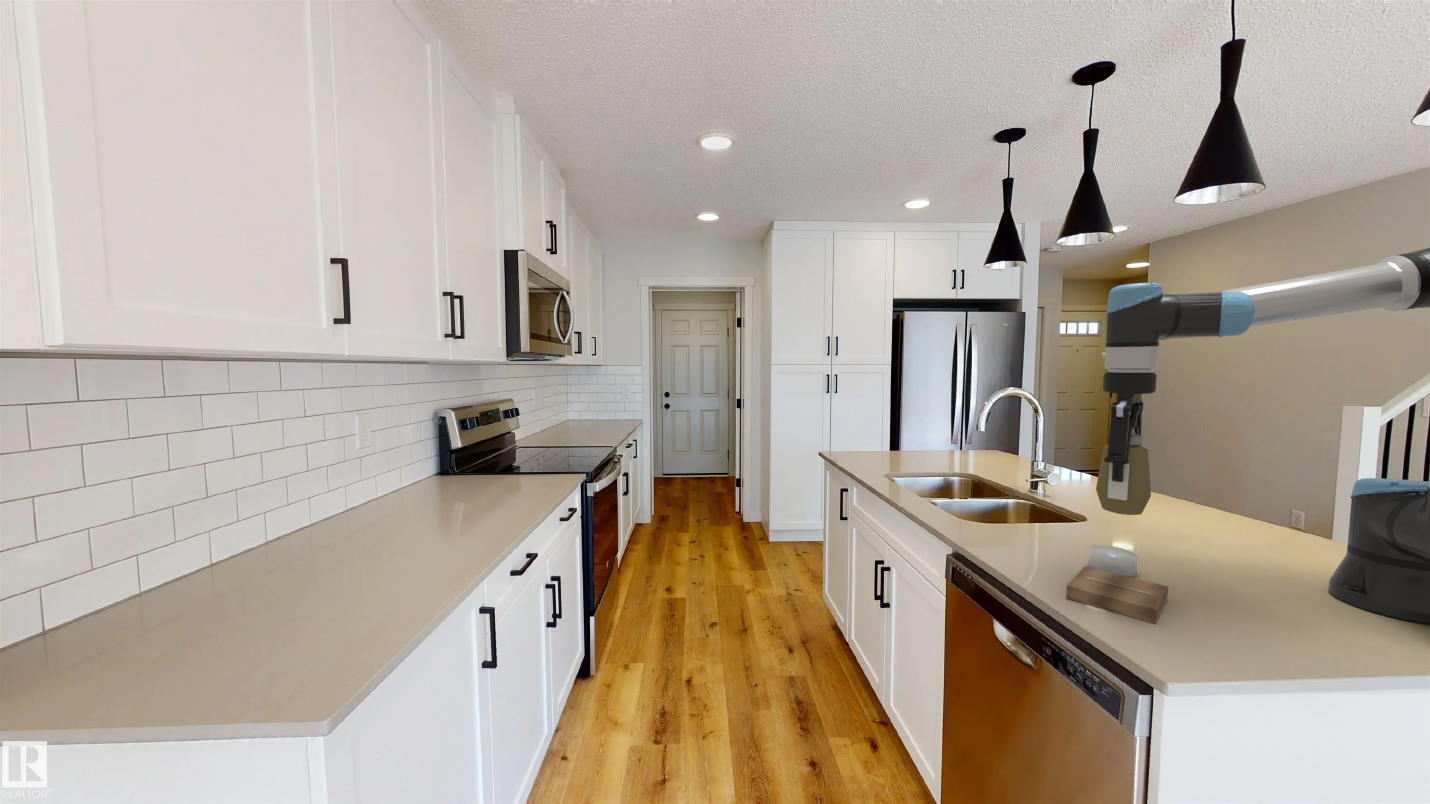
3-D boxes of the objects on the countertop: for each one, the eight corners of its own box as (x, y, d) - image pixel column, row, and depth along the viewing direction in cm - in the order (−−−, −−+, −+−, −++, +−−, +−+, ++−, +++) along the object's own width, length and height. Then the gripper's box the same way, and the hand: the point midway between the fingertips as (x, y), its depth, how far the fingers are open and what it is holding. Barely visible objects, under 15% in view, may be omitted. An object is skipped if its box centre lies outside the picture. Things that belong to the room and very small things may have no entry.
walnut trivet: (1167, 599, 97) (1168, 585, 97) (1155, 624, 88) (1156, 609, 88) (1084, 577, 106) (1084, 565, 106) (1066, 598, 98) (1066, 584, 98)
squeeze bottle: (1161, 515, 93) (1168, 416, 91) (1127, 519, 91) (1133, 418, 89) (1116, 503, 101) (1121, 411, 99) (1084, 507, 99) (1088, 413, 97)
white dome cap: (1135, 568, 111) (1136, 550, 111) (1137, 581, 105) (1138, 562, 104) (1089, 559, 116) (1090, 542, 115) (1088, 571, 109) (1089, 553, 109)
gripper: (1116, 369, 103) (1110, 481, 105) (1090, 372, 89) (1083, 501, 91) (1165, 369, 98) (1158, 487, 100) (1146, 373, 84) (1137, 510, 86)
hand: (1122, 494), depth 96 cm, fingers closed on squeeze bottle, 8 cm apart
